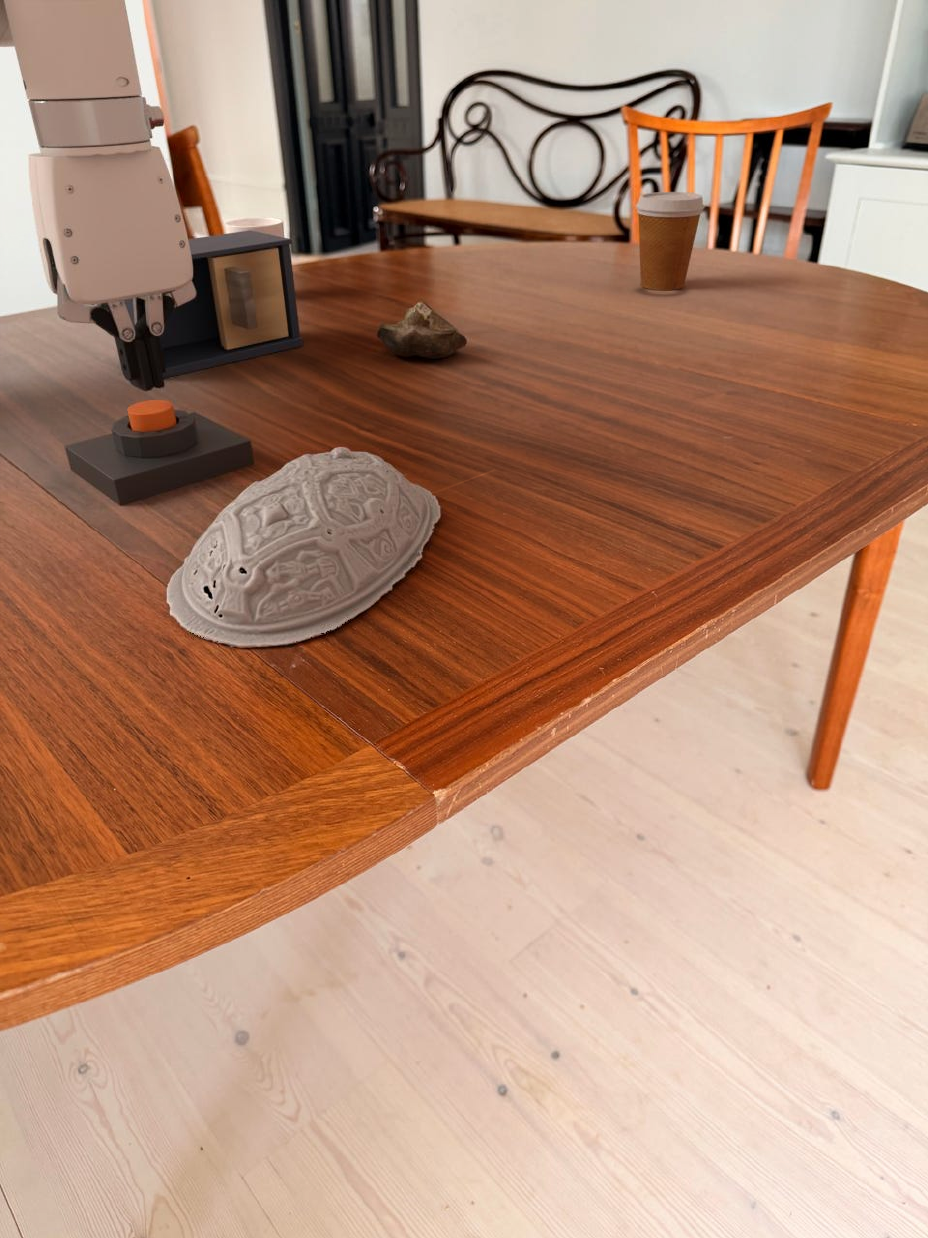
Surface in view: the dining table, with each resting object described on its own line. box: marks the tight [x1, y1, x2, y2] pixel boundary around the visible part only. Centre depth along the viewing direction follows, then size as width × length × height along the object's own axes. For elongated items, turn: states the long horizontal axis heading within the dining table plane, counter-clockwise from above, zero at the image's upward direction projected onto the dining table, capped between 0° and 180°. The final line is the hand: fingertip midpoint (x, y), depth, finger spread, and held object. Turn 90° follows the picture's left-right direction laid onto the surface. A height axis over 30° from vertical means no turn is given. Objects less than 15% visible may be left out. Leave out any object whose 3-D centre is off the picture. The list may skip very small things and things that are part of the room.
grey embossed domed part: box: [166, 446, 442, 649], centre depth 62 cm, size 16×25×7 cm, turn 159°
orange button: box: [127, 399, 177, 432], centre depth 74 cm, size 4×4×2 cm
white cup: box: [225, 217, 285, 238], centre depth 128 cm, size 8×8×10 cm
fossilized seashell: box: [376, 300, 468, 360], centre depth 103 cm, size 8×7×10 cm
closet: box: [124, 230, 304, 379], centre depth 103 cm, size 19×9×12 cm, turn 132°
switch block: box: [64, 409, 255, 507], centre depth 76 cm, size 12×10×4 cm
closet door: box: [210, 247, 289, 350], centre depth 101 cm, size 8×4×10 cm, turn 132°
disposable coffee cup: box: [635, 191, 706, 291], centre depth 129 cm, size 10×10×12 cm
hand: (147, 385), depth 73 cm, fingers closed
